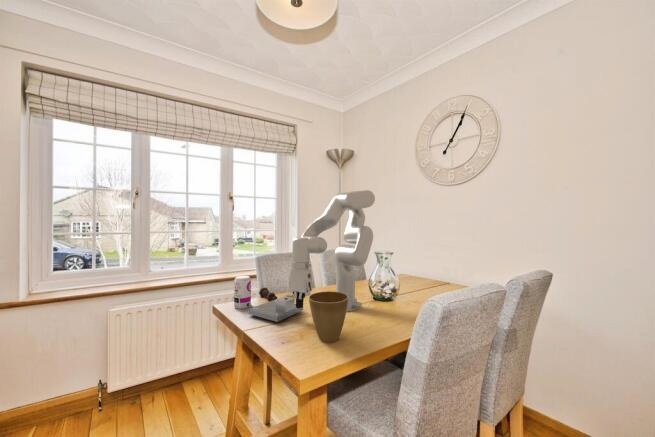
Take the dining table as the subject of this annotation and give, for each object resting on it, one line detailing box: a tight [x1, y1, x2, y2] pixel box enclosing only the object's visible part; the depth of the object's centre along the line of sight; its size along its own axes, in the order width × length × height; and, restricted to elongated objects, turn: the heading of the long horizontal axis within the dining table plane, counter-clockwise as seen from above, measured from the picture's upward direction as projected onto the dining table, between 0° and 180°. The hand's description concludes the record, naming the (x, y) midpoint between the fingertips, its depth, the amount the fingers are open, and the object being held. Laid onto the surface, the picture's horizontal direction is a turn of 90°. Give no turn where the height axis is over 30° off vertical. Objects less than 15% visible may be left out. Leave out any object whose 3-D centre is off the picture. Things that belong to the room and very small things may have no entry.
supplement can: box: [233, 275, 252, 310], centre depth 143 cm, size 8×8×15 cm
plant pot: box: [308, 290, 348, 343], centre depth 107 cm, size 15×15×16 cm
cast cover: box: [276, 295, 296, 313], centre depth 129 cm, size 6×6×5 cm
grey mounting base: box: [247, 293, 304, 323], centre depth 133 cm, size 18×20×7 cm
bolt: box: [258, 287, 278, 302], centre depth 156 cm, size 6×5×15 cm
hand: (299, 307), depth 124 cm, fingers closed
